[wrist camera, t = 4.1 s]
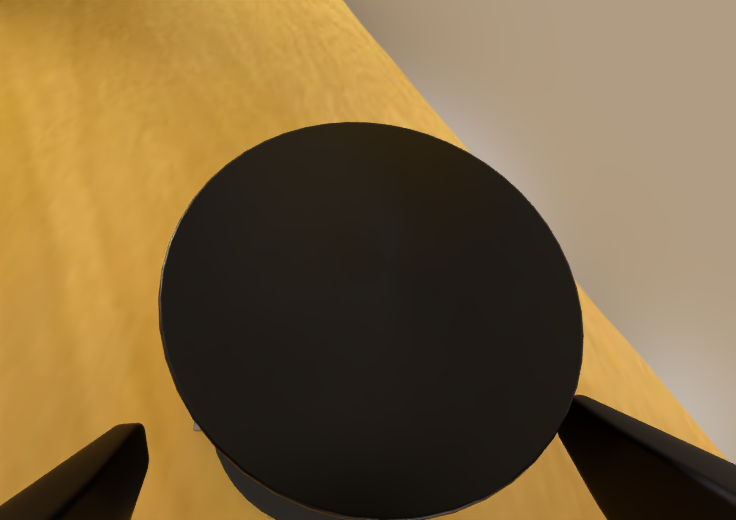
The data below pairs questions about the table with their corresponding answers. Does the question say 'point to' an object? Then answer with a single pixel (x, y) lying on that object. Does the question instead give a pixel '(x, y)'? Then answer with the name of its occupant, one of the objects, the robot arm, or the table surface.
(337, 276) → the labeled black canister
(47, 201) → the table surface
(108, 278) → the table surface
